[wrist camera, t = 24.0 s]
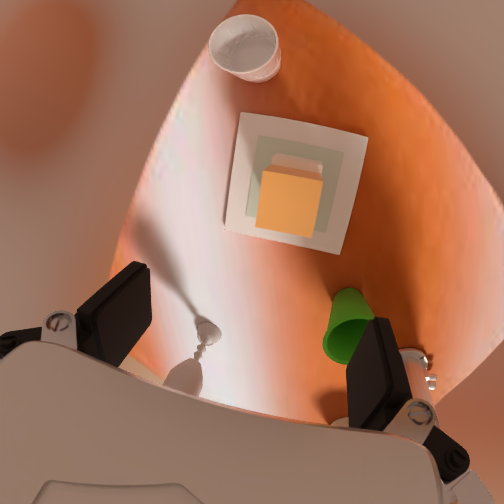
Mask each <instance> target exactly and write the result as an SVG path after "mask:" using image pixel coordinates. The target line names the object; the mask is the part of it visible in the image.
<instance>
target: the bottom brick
mask: <svg viewBox="0 0 504 504" xmlns="http://www.w3.org/2000/svg"><path fill="white" fill-rule="evenodd" d="M271 164H272V165H278V166H284V167H289V168H295V169H300V170H306V171H311V172H316V173H322V168H323V165H322V163H321V161H317V160H312V159H308V158H303V157H298V156H293V155H288V154H283V153H276V154H275V155H273V157H272V163H271Z"/></svg>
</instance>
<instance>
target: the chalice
mask: <svg viewBox="0 0 504 504" xmlns="http://www.w3.org/2000/svg"><path fill="white" fill-rule="evenodd" d="M197 334H198V336H197V337H198V339H199V341H200V342H201V344H200V345H198V346H197V349H198V351H197V352H195V353H194V359H192V358H190V359H187V360H185V361H183V362H181V363H180V364H178V365H177V366H175V367H174V368H173V369H172V370H171V371H170V372H169V374H168V376H167V378H166V380H165V381H164V384H163V385H164V386H167V387H170V388H173V389H175V390H178V391H182V392H185V393H188V394H191V395H194V396H197V397H198V396H199V394H200V392H201V389H202V382H203V376H202V369H201V364H200V363H199V362H198V360H199V359H200V358H202V352H205V351H206V348H205V346H206V345H208V346H209V345H213V344H214V343H216V342H217V341H219V340H220V339H221V336H222V334H221V331H220V329H219V328H218V327H217V326H216V325H214V324H212V323H209V322H204V323H201V324H199V326H198V327H197Z"/></svg>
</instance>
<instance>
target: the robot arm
mask: <svg viewBox="0 0 504 504" xmlns="http://www.w3.org/2000/svg"><path fill="white" fill-rule="evenodd" d="M151 321H152V309H151V287H150V269H149V268H147V265H146V264H144V263H140V262H136V261H133V262H131V263H130V264H129V265H128V266H126V267H125V268H124V269H123V270H122V271H120V272H119V273H118V274H117V275H116V276H115V277H113V278H112V279H111V280H110V281H109V282H108V283H106V284H105V285H104V286H103V287H102V288H101V289H100V290H98V291H97V292H96V293H95V294H94V295H93V296H92V297H90V298H89V299H88V300H87V301H86V302H85V303H84V304H83V305H81V306H80V307H79V308H78V309H77V313H76V314H75V315H73V314H72V313H70V312H68V311H55V312H53V313H50V314H49V315H48V316H46V318H45V319H44V321H43V324H42V327H37V328H30V329H24V330H17V331H10V332H6V333H4V334H3V335H1V336H0V504H494V499H493V497H492V495H491V494H490V492H489V491H488V490H487V488H486V487H485V485H484V484H483V482H482V481H481V480H480V478H479V477H478V475H477V474H476V473H475V471H474V470H473V469H472V470H471V471H470V470H469V469H468V467H469V464H470V463H469V462H470V459H469V455H468V453H467V451H466V450H465V449H464V448H463V447H462V446H460V445H459V444H458V443H457V442H455V441H454V440H453V439H451V438H450V437H449V436H448V435H446V434H445V433H444V432H443V431H441V429H440V425H439V421H438V418H437V414H436V411H435V407H434V403H433V400H432V397H431V393H430V390H429V389H432V390H433V389H434V388H435V386H436V382H435V381H428V380H436V378H437V375H436V374H429V373H428V372H427V368H428V360H427V357H426V355H425V354H424V353H423V352H422V351H420V350H418V349H415V348H404V349H399V350H398V347H397V343H396V340H395V337H394V334H393V331H392V328H391V325H390V322H389V319H387V318H381V317H374V319H370V320H369V321H368V324H367V326H366V328H365V330H364V332H363V334H362V337H361V339H360V341H359V343H358V345H357V347H356V349H355V351H354V353H353V355H352V357H351V359H350V361H349V363H348V365H347V368H346V381H347V397H348V419H349V427H342V426H334V425H327V424H320V423H313V422H306V421H300V420H294V419H288V418H283V417H278V416H273V415H268V414H263V413H258V412H254V411H250V410H245V409H241V408H237V407H233V406H229V405H225V404H222V403H218V402H214V401H211V400H207V399H204V398H201V397H197V396H194V395H191V394H188V393H185V392H182V391H178V390H175V389H173V388H170V387H167V386H164V385H161V384H158V383H155V382H153V381H150V380H147V379H145V378H142V377H140V376H137V375H135V374H132V373H130V372H127V371H125V370H122V369H120V368H118V367H119V365H120V364H121V363H122V361H123V360H124V359H125V357H126V356H127V355H128V353H129V352H130V351H131V349H132V348H133V347H134V345H135V344H136V343H137V341H138V340H139V339H140V337H141V336H142V335H143V333H144V332H145V331H146V330H147V328H148V327H149V326H150V324H151Z"/></svg>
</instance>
